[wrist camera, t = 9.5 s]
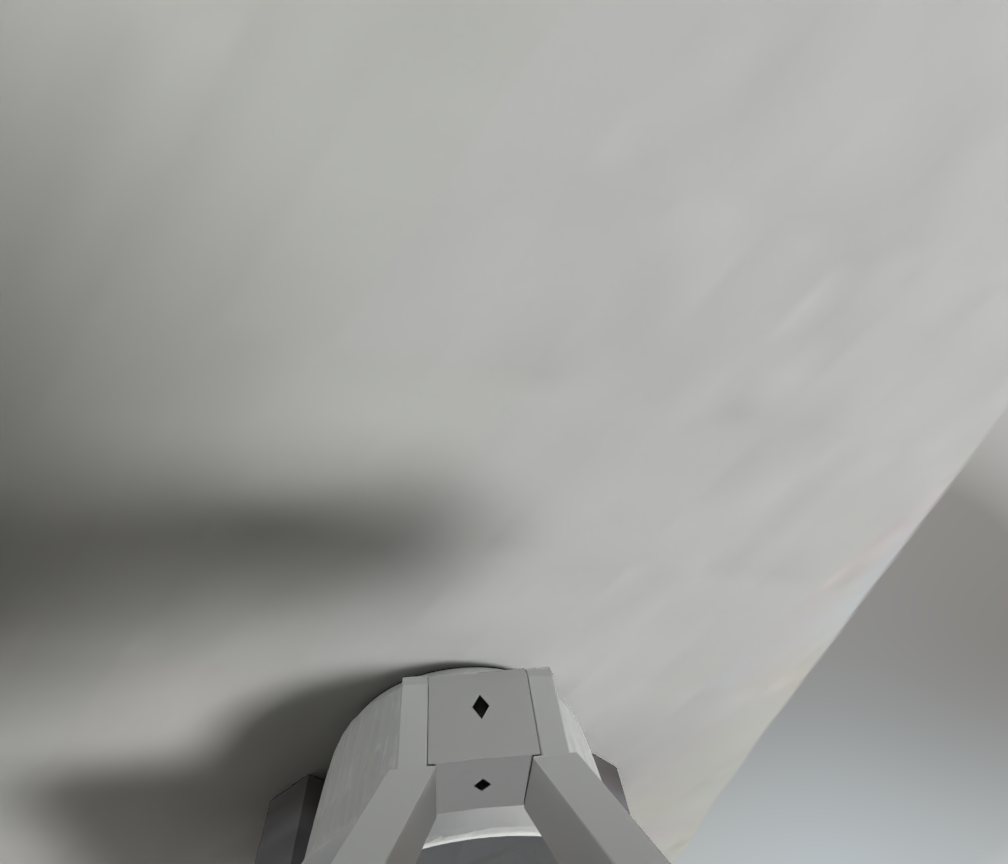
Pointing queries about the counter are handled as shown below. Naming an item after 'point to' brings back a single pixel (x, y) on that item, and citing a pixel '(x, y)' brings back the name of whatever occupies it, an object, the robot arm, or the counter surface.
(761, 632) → the counter surface
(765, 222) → the counter surface
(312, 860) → the ramekin
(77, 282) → the counter surface
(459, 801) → the robot arm
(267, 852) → the walnut shelf
